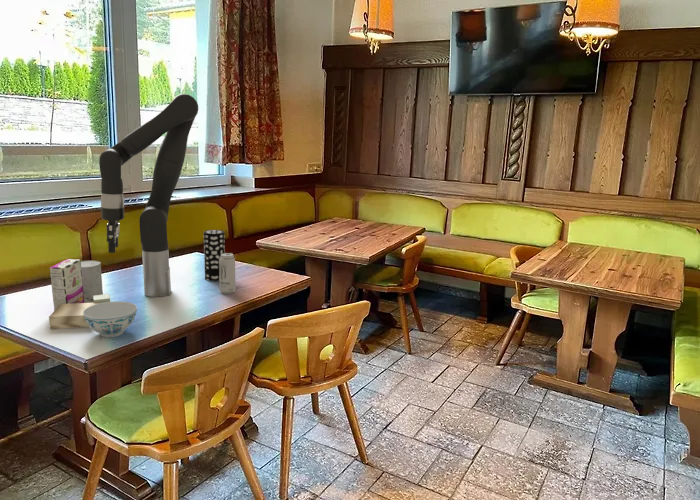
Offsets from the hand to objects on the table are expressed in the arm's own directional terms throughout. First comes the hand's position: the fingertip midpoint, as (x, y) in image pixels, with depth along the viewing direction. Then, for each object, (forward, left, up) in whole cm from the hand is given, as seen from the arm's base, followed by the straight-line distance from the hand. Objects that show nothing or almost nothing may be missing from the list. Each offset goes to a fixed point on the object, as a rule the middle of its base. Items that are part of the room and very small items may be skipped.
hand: (113, 249), depth 193 cm
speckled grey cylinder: (+10, -1, -18) cm, 20 cm away
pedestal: (+8, +25, -18) cm, 32 cm away
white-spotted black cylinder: (-35, -19, -18) cm, 44 cm away
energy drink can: (-40, 0, -18) cm, 44 cm away
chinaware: (-5, +37, -18) cm, 41 cm away
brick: (+2, +16, -18) cm, 24 cm away
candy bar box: (+13, +13, -18) cm, 25 cm away
